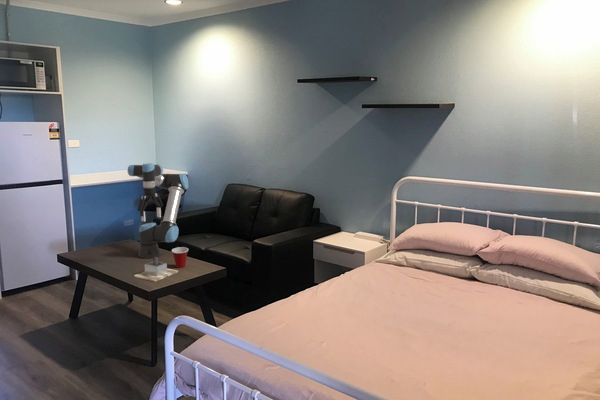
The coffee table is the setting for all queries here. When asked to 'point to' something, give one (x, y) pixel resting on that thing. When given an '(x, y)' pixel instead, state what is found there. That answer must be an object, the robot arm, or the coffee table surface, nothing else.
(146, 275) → the keeper board
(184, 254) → the plastic cup
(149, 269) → the white box
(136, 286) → the coffee table surface
